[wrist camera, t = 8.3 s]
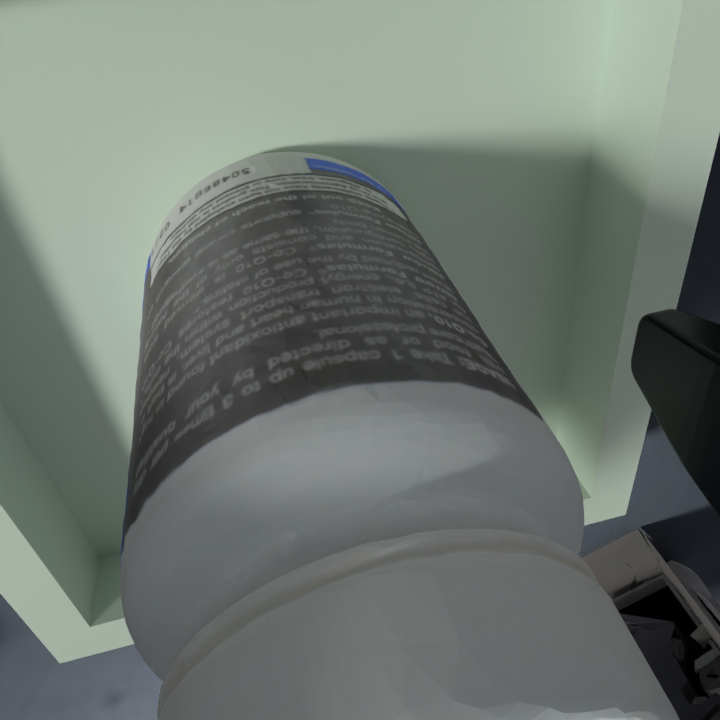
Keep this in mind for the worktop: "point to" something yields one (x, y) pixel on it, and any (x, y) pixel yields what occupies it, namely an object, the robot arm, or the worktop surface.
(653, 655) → the electrical switch
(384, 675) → the pill bottle
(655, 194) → the tray
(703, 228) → the worktop surface
